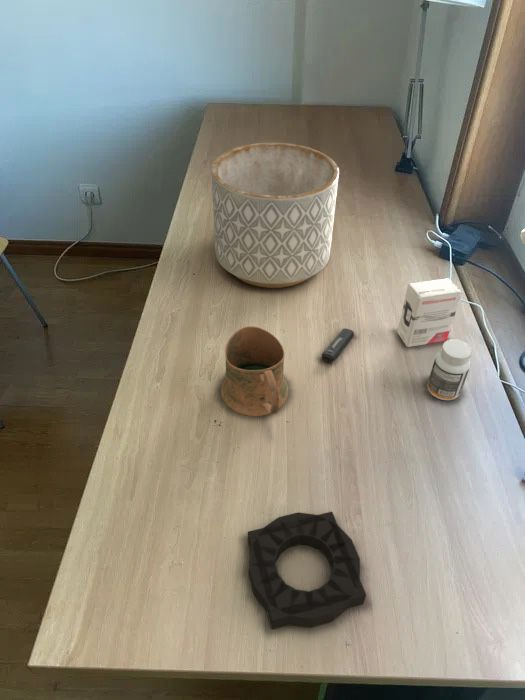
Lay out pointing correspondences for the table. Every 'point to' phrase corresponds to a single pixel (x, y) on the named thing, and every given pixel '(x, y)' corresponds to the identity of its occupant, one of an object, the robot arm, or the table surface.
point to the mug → (254, 373)
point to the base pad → (299, 604)
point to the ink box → (428, 312)
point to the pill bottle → (450, 370)
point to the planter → (273, 212)
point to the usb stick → (337, 345)
